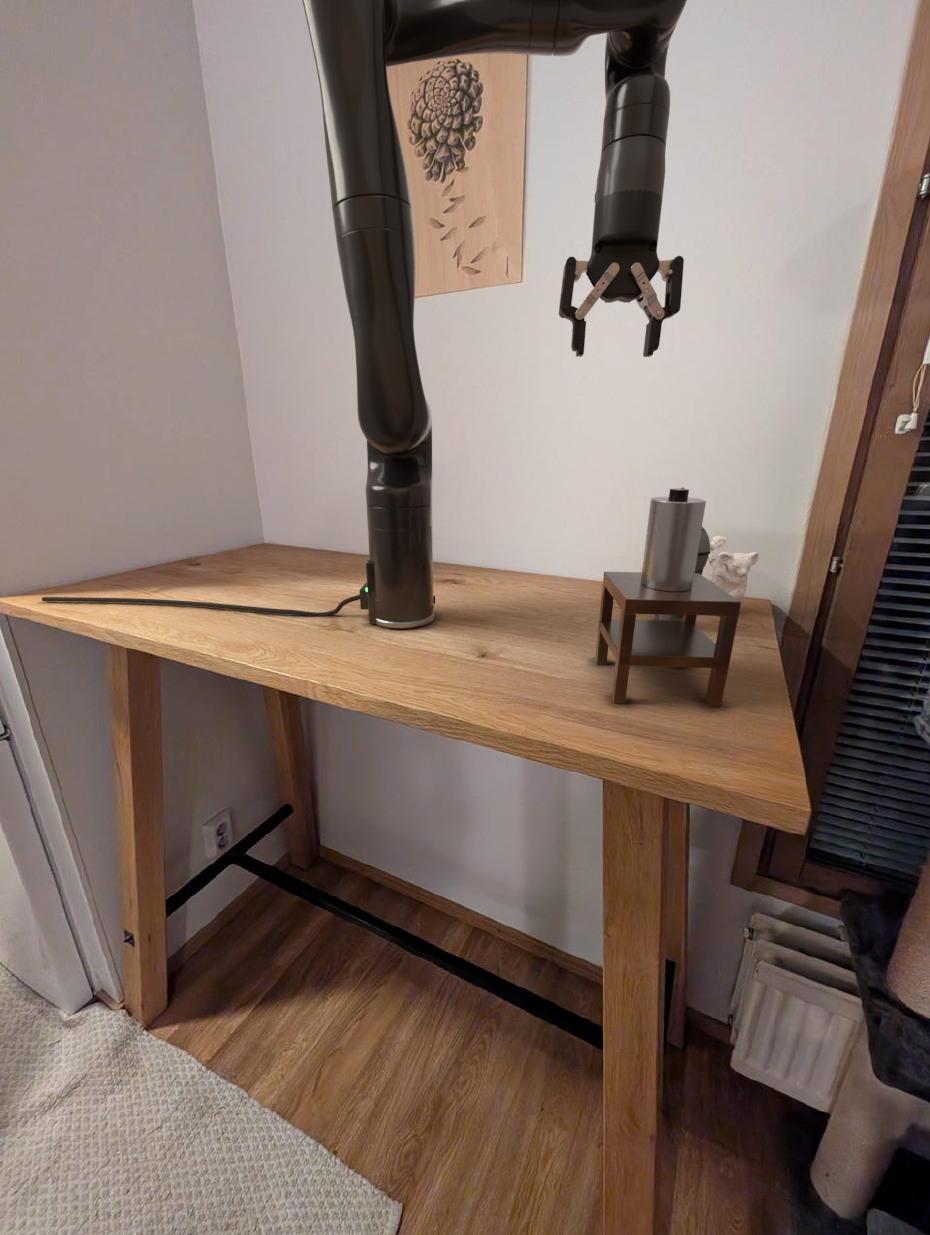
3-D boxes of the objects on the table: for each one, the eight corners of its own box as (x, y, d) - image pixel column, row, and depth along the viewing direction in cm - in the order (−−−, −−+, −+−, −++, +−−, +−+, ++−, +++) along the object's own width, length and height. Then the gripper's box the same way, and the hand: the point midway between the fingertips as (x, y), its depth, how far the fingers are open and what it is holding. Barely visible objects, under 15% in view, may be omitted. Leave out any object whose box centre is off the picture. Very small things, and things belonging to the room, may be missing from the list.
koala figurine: (689, 613, 82) (701, 538, 78) (690, 601, 88) (701, 531, 84) (749, 620, 79) (765, 543, 75) (745, 608, 85) (760, 535, 81)
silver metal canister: (647, 591, 53) (660, 491, 50) (635, 578, 58) (646, 486, 55) (699, 592, 53) (716, 492, 49) (682, 579, 58) (696, 487, 54)
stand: (613, 703, 54) (625, 599, 50) (595, 660, 64) (603, 571, 61) (721, 707, 54) (741, 601, 50) (684, 663, 64) (699, 573, 60)
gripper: (570, 187, 57) (560, 351, 62) (703, 184, 56) (681, 351, 61) (562, 214, 64) (554, 360, 69) (680, 213, 63) (662, 360, 68)
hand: (613, 356), depth 65 cm, fingers open, 8 cm apart
